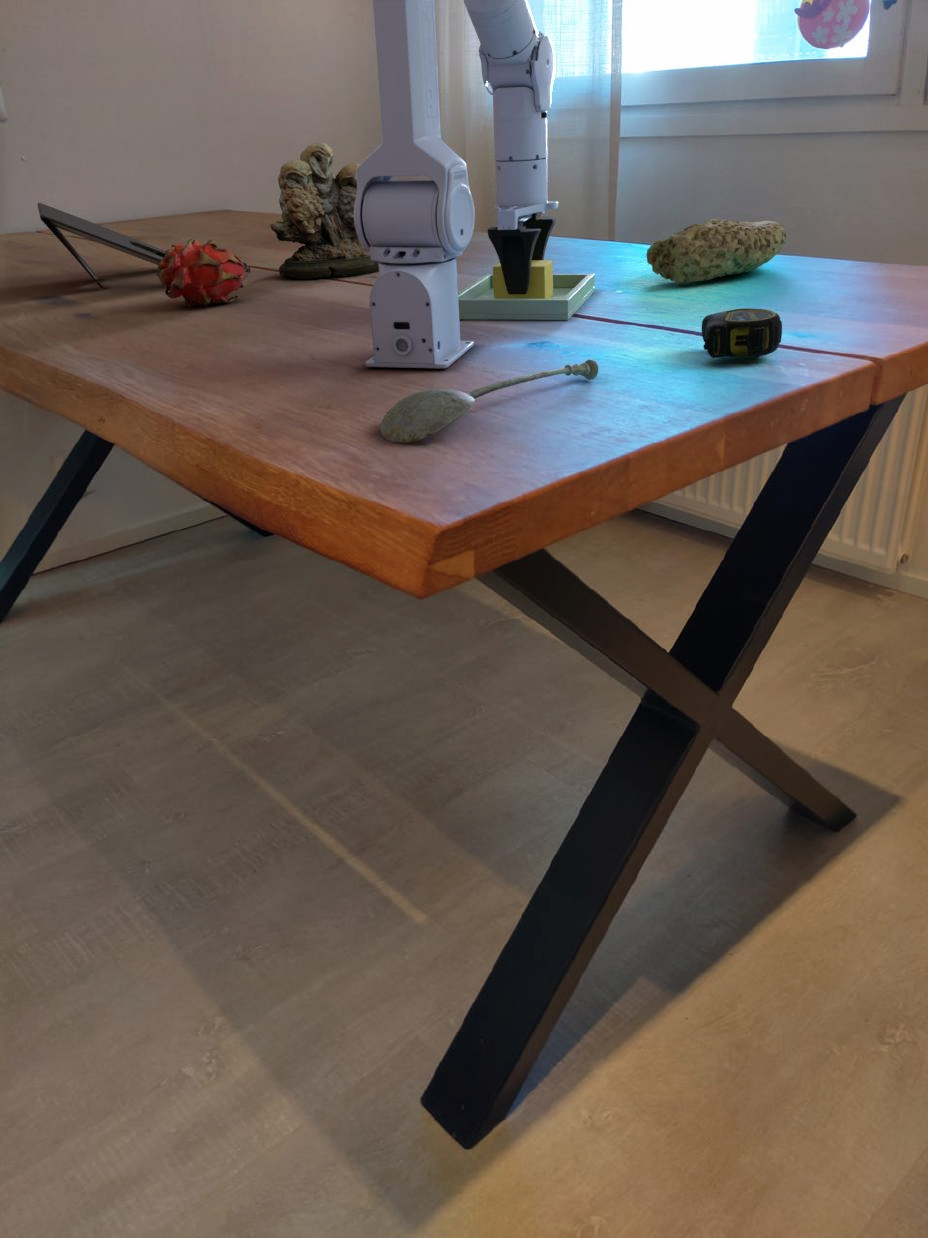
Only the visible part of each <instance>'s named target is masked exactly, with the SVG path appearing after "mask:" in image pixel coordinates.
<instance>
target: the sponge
mask: <svg viewBox="0 0 928 1238" xmlns="http://www.w3.org/2000/svg"><path fill="white" fill-rule="evenodd" d="M786 243H787V233H786V229H785V225H783V224H781V223H780V222H778V221H775V220H763V221H739V220H728V219H723V218H722V219H721V218H713V219H710V220H707V221H704V223H703V224H701V223H694V224H691V225H689V226H687V227H685V228H683V230H681V231H678V232H675V233H673V234H672V235H670V236H669V237H667V238H664V239H661V240H658V241H655V242H654V243H652V244H650V246H649V248H648V249H647V250H646V262H647V264H648V265H651V268H652V269H651V270H652V272H653V273H654V274H655V275H660V277H661V278H663V279H665V280H669V281H671V282H674V283H675V285H686V284H691V283H694V282H703V281H710V280H713V279H716V278H719V277H720V278H722V277H724V276H730V275H739V274H744V273H748V272H751V271H753V270H756V269H758V268H759V267H762V266H763V265H765V264H767V263H769V262H770V261H771V260H772V259H773V258H775V257H776V255H778V254H779V253H780V251H781V250H782V249H783V247H784V245H785V244H786Z"/></svg>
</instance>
